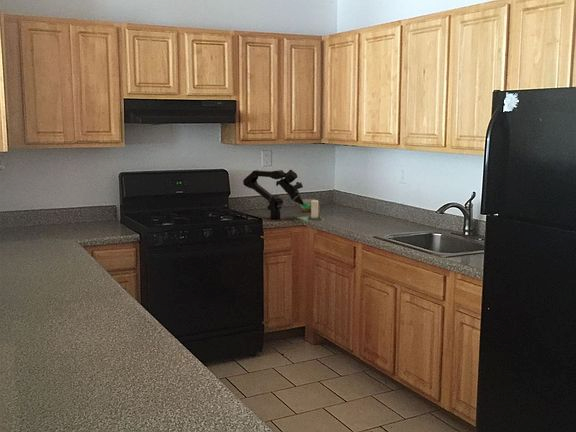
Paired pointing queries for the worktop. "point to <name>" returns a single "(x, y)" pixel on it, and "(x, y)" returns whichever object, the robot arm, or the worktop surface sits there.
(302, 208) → the food container
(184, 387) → the worktop surface
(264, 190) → the robot arm
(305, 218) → the board
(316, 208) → the plug
